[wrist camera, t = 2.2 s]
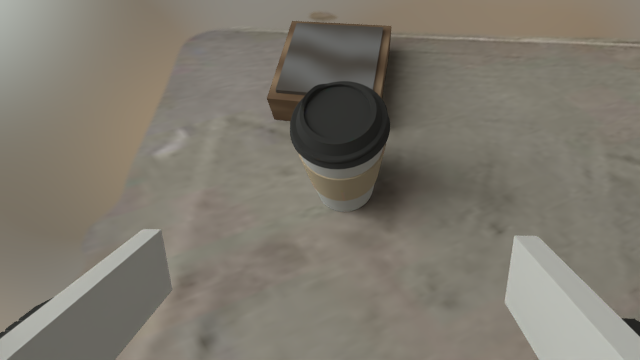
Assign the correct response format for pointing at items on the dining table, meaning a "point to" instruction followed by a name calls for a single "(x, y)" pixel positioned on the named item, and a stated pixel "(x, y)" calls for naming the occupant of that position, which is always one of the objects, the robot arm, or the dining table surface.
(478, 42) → the dining table surface
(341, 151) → the coffee cup
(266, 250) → the dining table surface
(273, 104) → the walnut block
